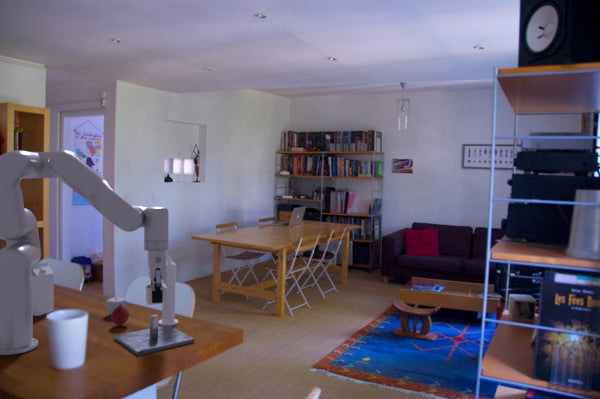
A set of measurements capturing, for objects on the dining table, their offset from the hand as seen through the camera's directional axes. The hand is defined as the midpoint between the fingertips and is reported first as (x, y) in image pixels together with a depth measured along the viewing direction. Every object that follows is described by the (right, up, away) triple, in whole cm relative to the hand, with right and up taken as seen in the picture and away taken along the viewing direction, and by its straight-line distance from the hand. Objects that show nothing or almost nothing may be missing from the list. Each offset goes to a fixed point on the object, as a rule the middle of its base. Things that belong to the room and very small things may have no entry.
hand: (156, 299), depth 153 cm
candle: (-1, -13, +19) cm, 23 cm away
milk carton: (-53, -11, +26) cm, 60 cm away
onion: (-17, -13, +14) cm, 26 cm away
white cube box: (0, -1, 0) cm, 1 cm away
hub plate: (-1, -14, 0) cm, 14 cm away
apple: (-24, -12, +27) cm, 38 cm away
